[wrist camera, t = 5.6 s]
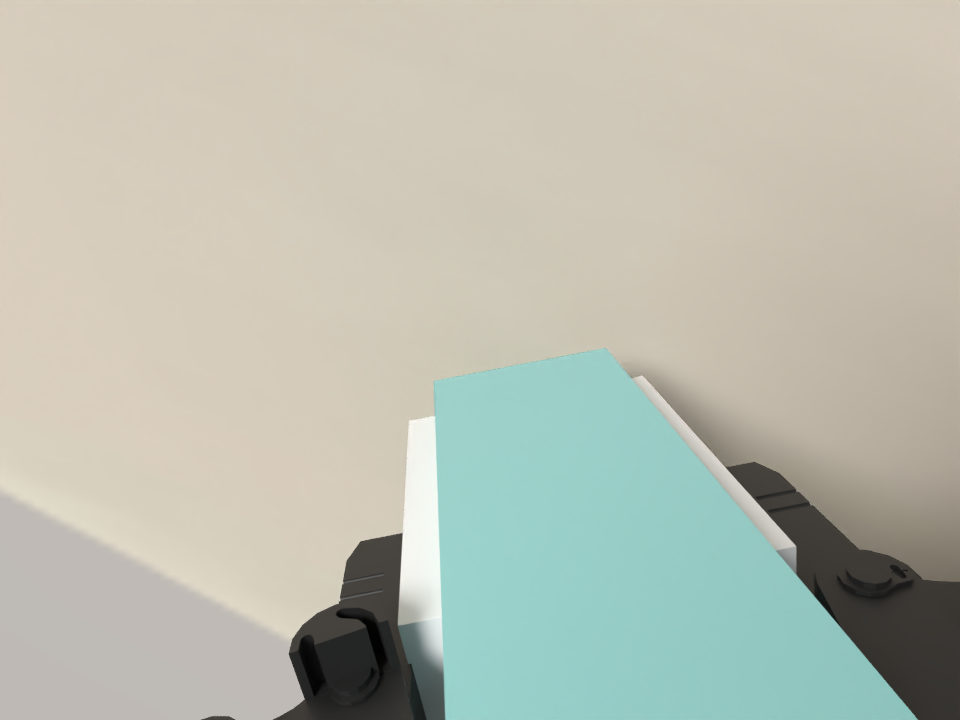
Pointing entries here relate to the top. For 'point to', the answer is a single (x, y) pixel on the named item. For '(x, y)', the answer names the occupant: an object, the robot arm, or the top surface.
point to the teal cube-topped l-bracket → (616, 567)
